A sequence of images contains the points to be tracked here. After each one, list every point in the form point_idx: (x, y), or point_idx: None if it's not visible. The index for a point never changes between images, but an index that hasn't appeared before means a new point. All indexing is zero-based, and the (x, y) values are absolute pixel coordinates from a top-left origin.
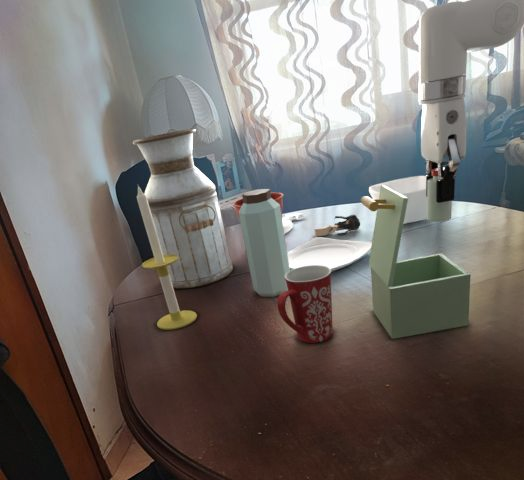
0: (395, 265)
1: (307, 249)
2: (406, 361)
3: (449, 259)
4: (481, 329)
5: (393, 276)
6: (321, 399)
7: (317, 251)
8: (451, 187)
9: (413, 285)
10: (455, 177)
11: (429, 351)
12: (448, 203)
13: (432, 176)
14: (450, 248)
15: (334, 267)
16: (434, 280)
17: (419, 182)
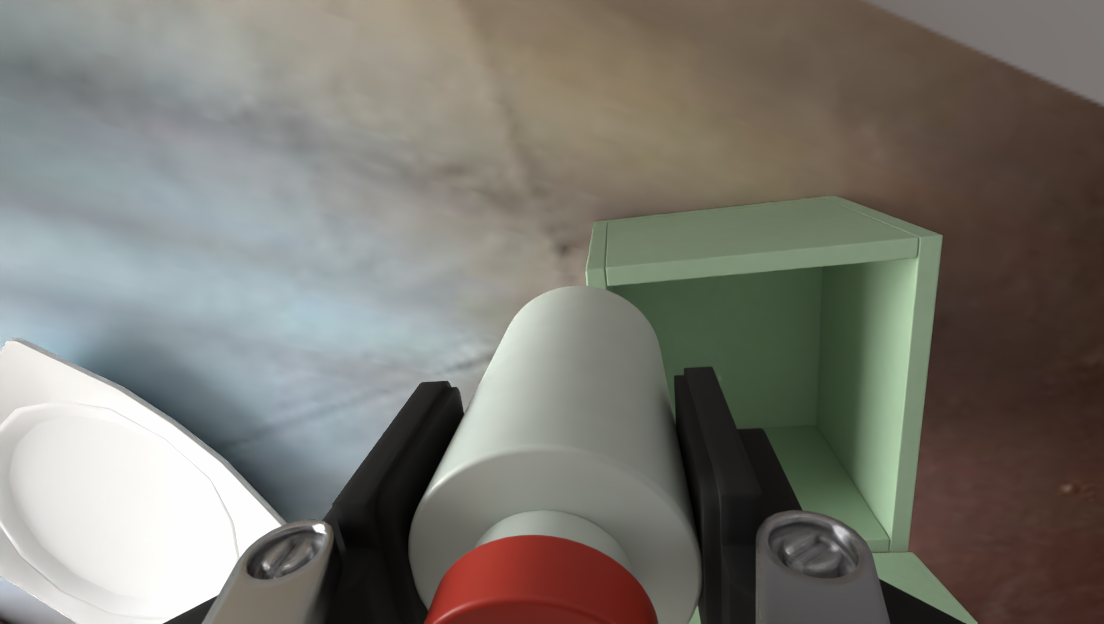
0: (971, 616)
1: (32, 552)
2: (972, 421)
3: (691, 261)
4: (881, 162)
5: (938, 581)
6: (1048, 620)
7: (48, 521)
8: (787, 479)
9: (914, 471)
10: (839, 521)
11: (946, 352)
12: (659, 377)
13: (398, 613)
14: (46, 23)
15: (273, 517)
16: (919, 392)
17: None
